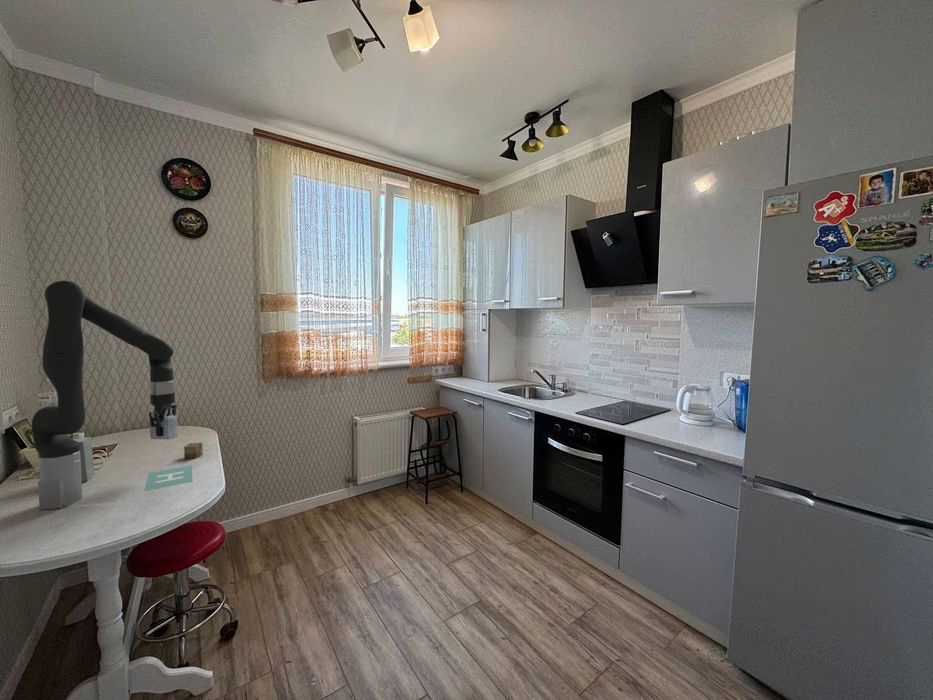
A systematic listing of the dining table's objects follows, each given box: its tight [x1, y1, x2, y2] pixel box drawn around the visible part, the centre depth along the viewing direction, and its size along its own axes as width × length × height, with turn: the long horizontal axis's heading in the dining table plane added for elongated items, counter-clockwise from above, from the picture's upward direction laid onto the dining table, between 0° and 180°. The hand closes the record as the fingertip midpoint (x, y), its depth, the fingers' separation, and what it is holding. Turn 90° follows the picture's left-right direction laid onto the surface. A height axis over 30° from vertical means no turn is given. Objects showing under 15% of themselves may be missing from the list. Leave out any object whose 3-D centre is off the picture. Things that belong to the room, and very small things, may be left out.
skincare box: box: [71, 436, 95, 483], centre depth 141 cm, size 8×7×16 cm
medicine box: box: [149, 415, 179, 440], centre depth 145 cm, size 8×4×9 cm, turn 86°
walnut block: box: [183, 442, 204, 460], centre depth 166 cm, size 5×5×6 cm
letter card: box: [144, 464, 193, 492], centre depth 144 cm, size 20×14×1 cm
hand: (164, 433), depth 145 cm, fingers closed on medicine box, 5 cm apart
